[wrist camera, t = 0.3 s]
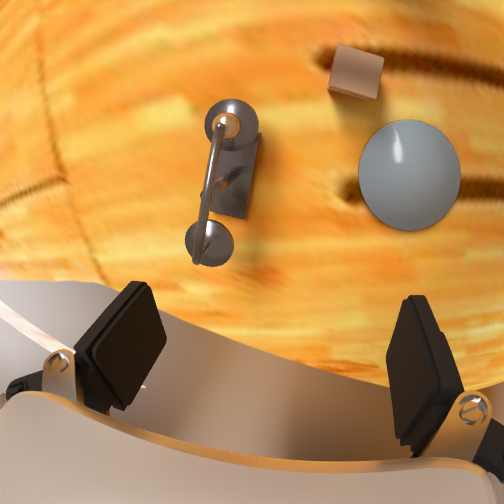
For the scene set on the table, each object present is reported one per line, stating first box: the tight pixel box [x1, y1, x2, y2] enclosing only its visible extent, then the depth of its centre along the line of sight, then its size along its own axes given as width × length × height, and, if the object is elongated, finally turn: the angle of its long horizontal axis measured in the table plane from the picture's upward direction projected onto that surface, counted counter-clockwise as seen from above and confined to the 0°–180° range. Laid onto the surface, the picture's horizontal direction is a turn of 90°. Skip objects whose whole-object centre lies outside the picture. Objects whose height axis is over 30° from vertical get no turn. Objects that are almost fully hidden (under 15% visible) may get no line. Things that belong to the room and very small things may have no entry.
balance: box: [185, 99, 261, 267], centre depth 32 cm, size 20×6×13 cm, turn 169°
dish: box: [358, 120, 461, 231], centre depth 32 cm, size 15×15×1 cm
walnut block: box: [327, 44, 384, 101], centre depth 26 cm, size 5×5×6 cm
